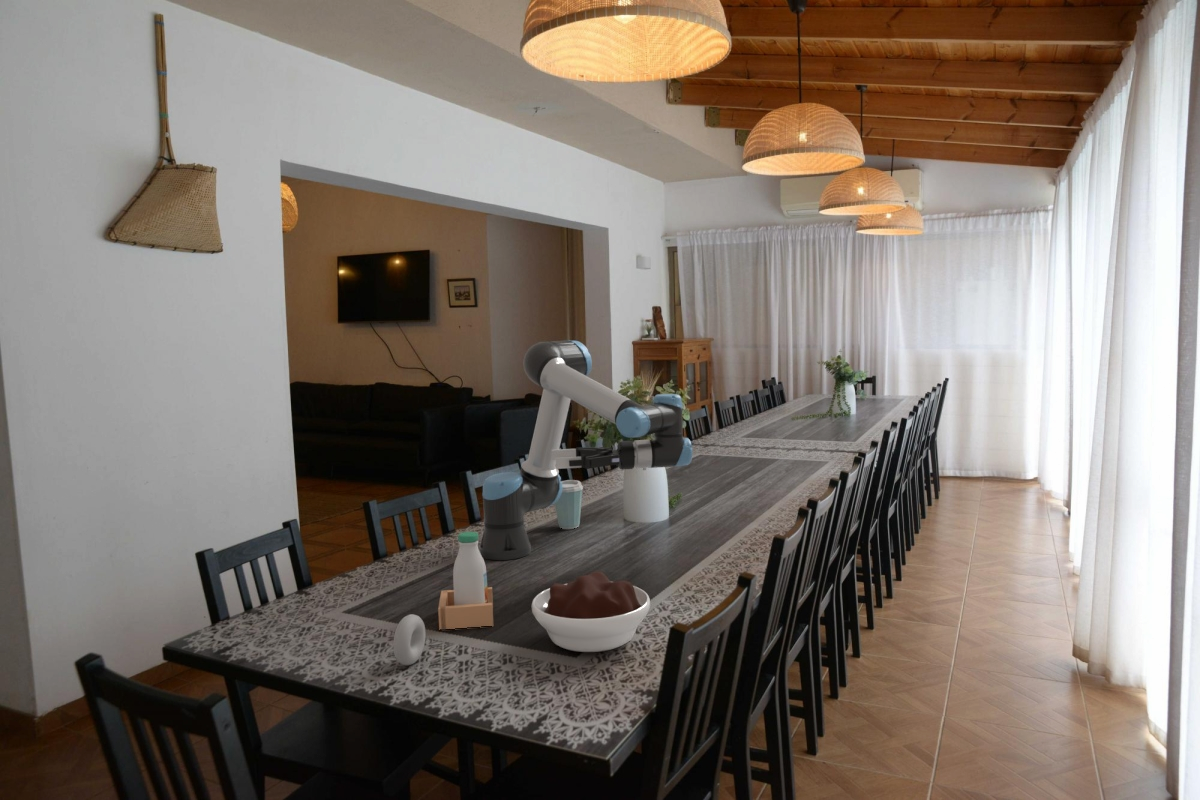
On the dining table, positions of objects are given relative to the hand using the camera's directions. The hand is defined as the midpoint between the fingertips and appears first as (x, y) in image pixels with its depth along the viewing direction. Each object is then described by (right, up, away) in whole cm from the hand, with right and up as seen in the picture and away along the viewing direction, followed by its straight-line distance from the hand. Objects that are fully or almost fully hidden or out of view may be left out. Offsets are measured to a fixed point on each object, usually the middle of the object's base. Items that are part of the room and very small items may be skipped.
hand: (553, 459), depth 220 cm
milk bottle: (-18, -35, -25) cm, 47 cm away
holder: (-18, -35, -25) cm, 47 cm away
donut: (-26, -38, -50) cm, 68 cm away
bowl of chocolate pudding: (+11, -36, -42) cm, 57 cm away
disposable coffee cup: (+2, -27, +58) cm, 64 cm away
